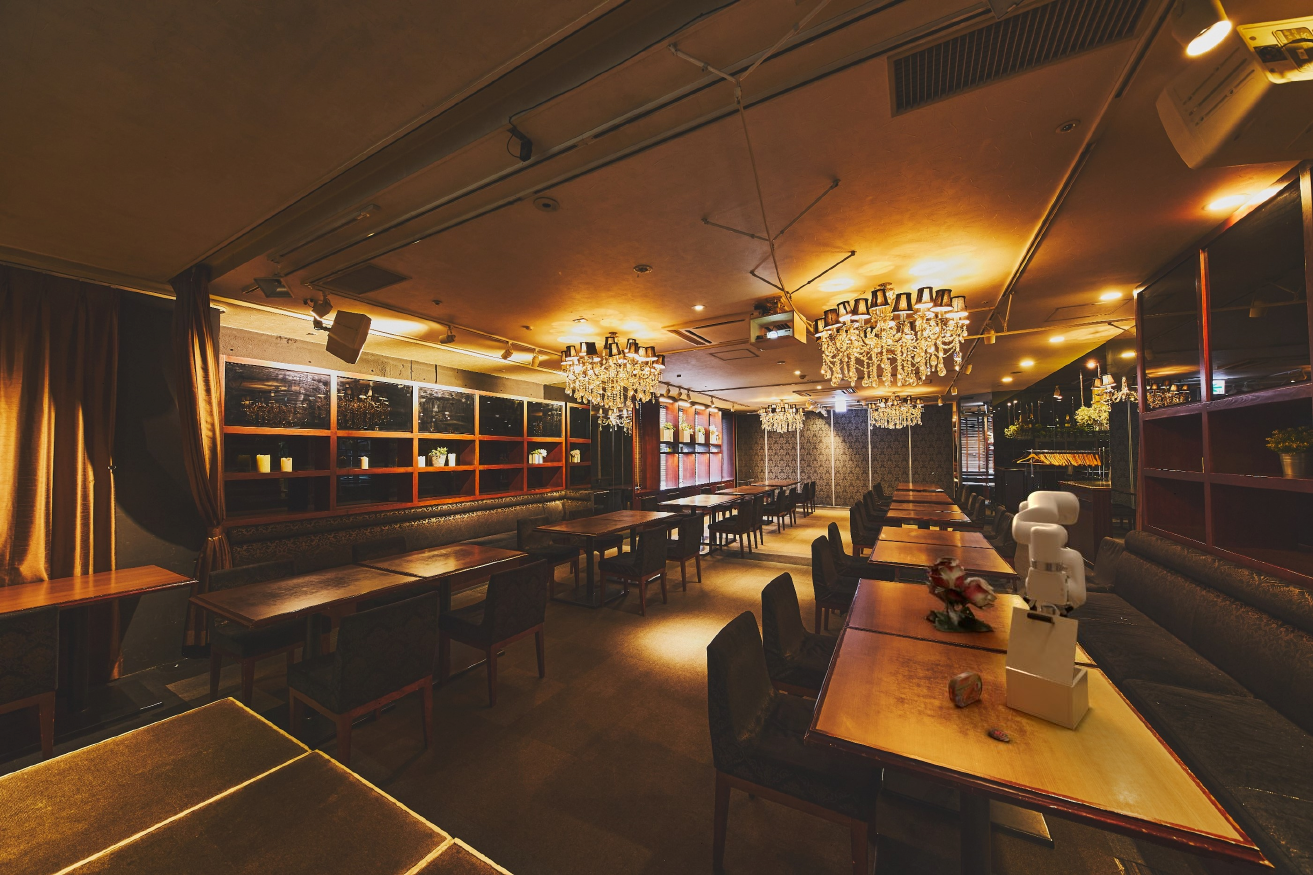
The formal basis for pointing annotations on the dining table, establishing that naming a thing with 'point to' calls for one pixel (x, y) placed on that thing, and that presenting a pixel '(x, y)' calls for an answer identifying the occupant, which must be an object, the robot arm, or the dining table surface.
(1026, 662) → the bin lid
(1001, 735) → the matchbox
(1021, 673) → the bin
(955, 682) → the tin
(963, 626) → the rose bouquet
